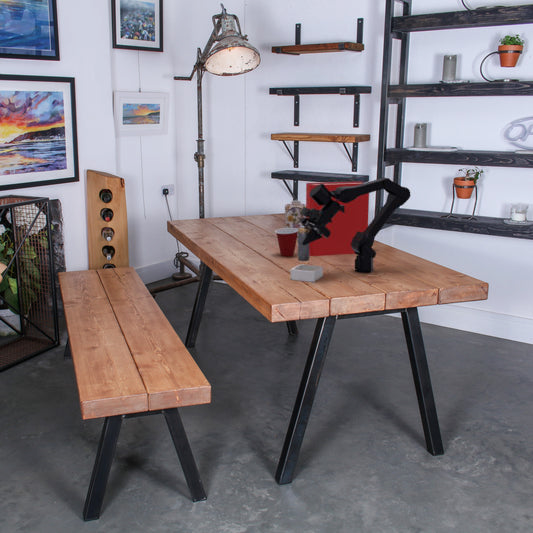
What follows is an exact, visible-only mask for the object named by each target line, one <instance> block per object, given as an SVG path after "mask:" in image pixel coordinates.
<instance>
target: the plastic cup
mask: <svg viewBox="0 0 533 533" xmlns="http://www.w3.org/2000/svg"><path fill="white" fill-rule="evenodd" d="M274 234H276V238H277V242H278V249H279V253H280V256H281V257H283V256H285V257H284V258H290V257H291V258H292V257H294V255H295V250H296V247H297V246H296V245H297V241H298V237H297V234H298V229H297V228H285V227H283V228H278V229H276V230H275V231H274Z"/></svg>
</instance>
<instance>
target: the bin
mask: <svg viewBox="0 0 533 533" xmlns="http://www.w3.org/2000/svg"><path fill="white" fill-rule="evenodd" d="M323 272H324V266H320V265H313V264H311V265H310V264H303V263H302V264H301V263H300V264H298V265H295V266H294V267H292V268H290V280H293V281H298V282H299V281H302V282H307V281H308V282H307V283H315V282H316V281H317V280H319V279H321V278H323V277H324V275H323V274H324V273H323Z"/></svg>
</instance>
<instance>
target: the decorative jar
mask: <svg viewBox="0 0 533 533" xmlns="http://www.w3.org/2000/svg"><path fill="white" fill-rule="evenodd" d="M303 207H305V208H306V203H301V200H292V201H291V203H288V204H285V205H284V228H297V229H298V228H299V227H301V226H302V223H301V222H300V221H299V220H300V219H301V218H302V217H306V216H303V215H301V211H302V209H303ZM297 236H298V234H297Z"/></svg>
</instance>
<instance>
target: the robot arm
mask: <svg viewBox="0 0 533 533" xmlns="http://www.w3.org/2000/svg"><path fill="white" fill-rule="evenodd" d="M319 183H320V185H318V186H316V187H315V188H313V189H312V190H311V191H310V193H309V196H310V197H311V198H312V199H313V200H314V201H315V202H316V203H317V204H318V205H319V206H320V205H324V206H323V207H322V208H321V210H317V209H314V208H311V209H308V208H305V207H303V209H302V211H301V215H303V216H306V217H309V218H306V217H302V218H301V219H300V220H299V221H300V222H301V223H302V226H306V227H309V234H308V235H307V237H306V238H305V239H304V241H303V243H302V245H306V244H309V243H311V242H313V241H315V240H318V239H320V238H323V237H322V235H324V237H325V238H328V237H329V236H330V235H331V232H330V231H329V230H328V229H327V228H326V227H325V226H326V225H327V224H328V223H331V222H332V220H331V219H332V218H333V217H334V216H335V215H336V214H337V212H338V211H340V212H343V213H344V212H345V209H344V207H345V206H344V205H340V204H339V203H338V202H337V201H339V202H342V203H349V202H351V201H353V200H355V199H356V198H357V197H359V196H361V195H364V194H368V193H369V194H370V193H375V192H378V191H381V190H384V191H385V192H386V193H387V197H386V201H385V203H384V204H383V206H382V207H381V208H380V210H379V211H378V213H377V214H376V215H375V217H374V218H373V219H372V220H371V221H370V224H369V223H368V227H367V228H366V230H365V231H363V232H359V231H358V232H357V233H356V235H355V236H354V237H353V238H352V239H353V240H352V242H351V247H352V249H353V250H354V252H355V254H354V255H356V256H355V257H356V258H355V259H354V272H355V273H356V272H357V273H366V274H371V273H372V272H373V271H374V270H375V268H374V259H375V258H376V256H377V252H376V251H375V250H374V249H373V245H374V243H375V238H376V236H377V235H378V234H379V233H380V231H381V230H382V229H383V227H384V226H385V224H386V223H387V221H388V220H389V219H390V218H391V217H392V215H393V213H394V212H395V211H396V210H397V209H398V208H400V207H401V206H403V205H405V203H407V201H408V200H410V198H411V190H410V189H409V188H408V187H405V186H402V185H400V184H398V183H396V182H394V181H393V180H391V179H390V178H389V177H380V178H378V179H374V180H371V181H367V182H363V184H360V185H357V186H344V187H338V188H336V189H335V190H334V191H329V190H328V189H327V188H326V187H325V185H324V184H322V182H319ZM332 198H335V199H336V200H337V201H334V200H333V199H332ZM296 243H298V240H296Z"/></svg>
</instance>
